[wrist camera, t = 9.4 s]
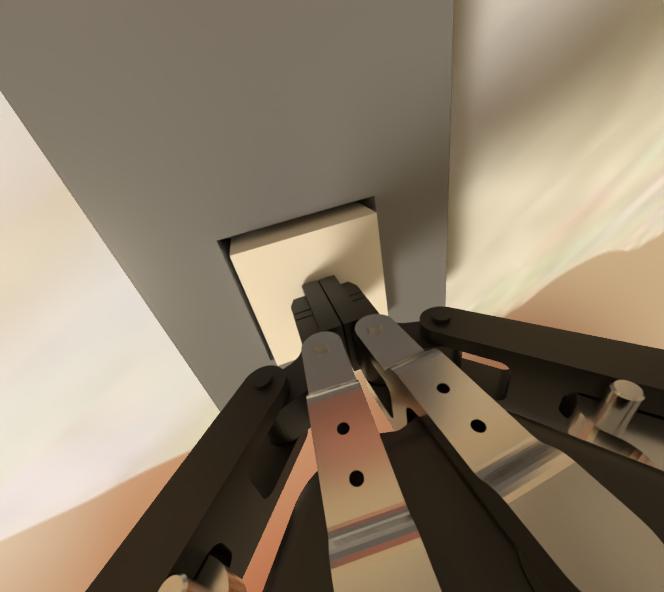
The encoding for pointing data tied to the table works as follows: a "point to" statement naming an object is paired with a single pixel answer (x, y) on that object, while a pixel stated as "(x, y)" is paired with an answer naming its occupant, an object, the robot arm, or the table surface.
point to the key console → (239, 142)
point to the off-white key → (307, 266)
